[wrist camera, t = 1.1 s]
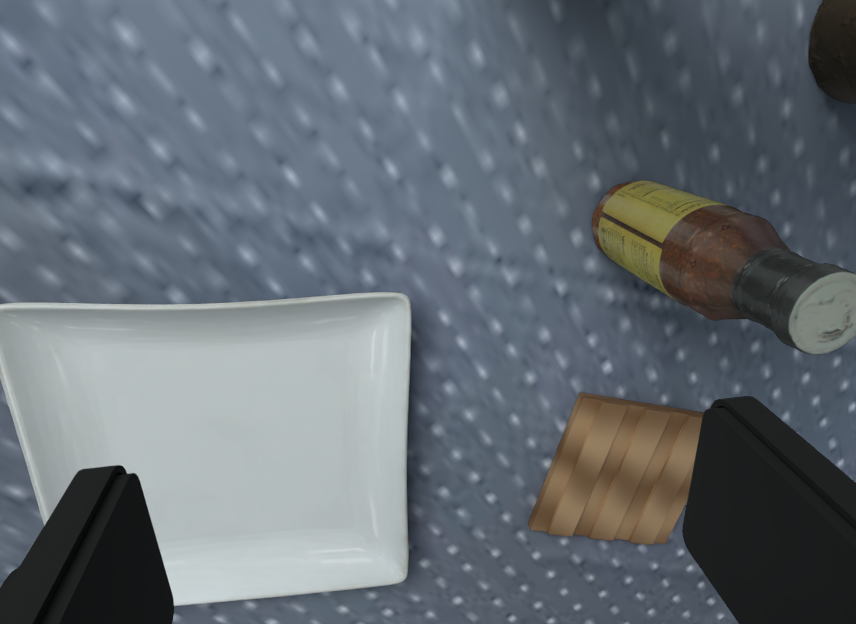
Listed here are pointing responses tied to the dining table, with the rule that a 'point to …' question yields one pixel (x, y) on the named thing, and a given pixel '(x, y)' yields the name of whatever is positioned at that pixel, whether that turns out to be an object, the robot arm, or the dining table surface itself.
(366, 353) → the square plate
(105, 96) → the dining table surface
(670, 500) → the trivet
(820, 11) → the pillar candle
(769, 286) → the sauce bottle
